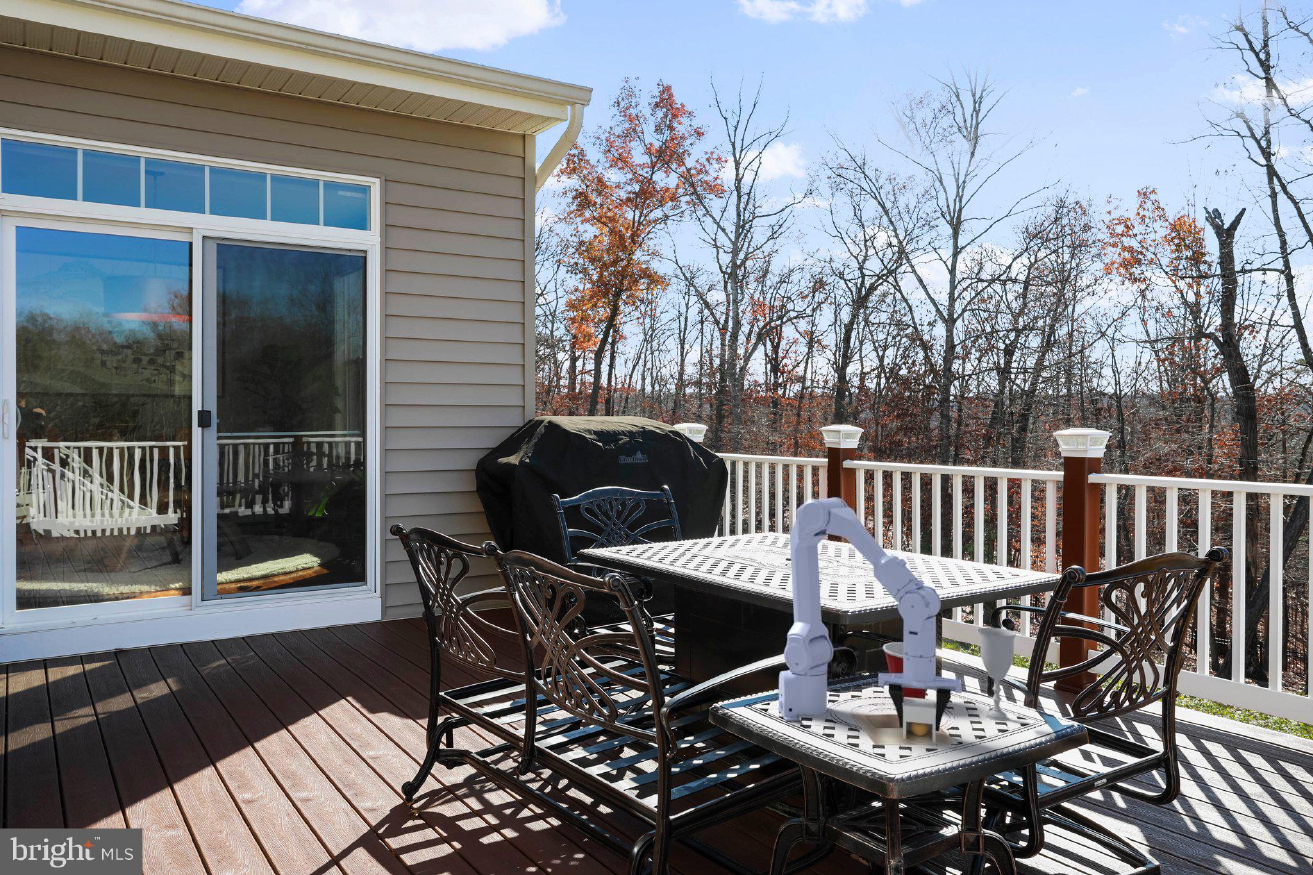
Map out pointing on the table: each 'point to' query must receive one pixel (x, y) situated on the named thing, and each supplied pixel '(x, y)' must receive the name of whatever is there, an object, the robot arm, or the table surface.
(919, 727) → the orange marble
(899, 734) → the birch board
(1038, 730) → the table surface
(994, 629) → the chalice
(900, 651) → the plastic cup
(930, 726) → the white tabletop archway
